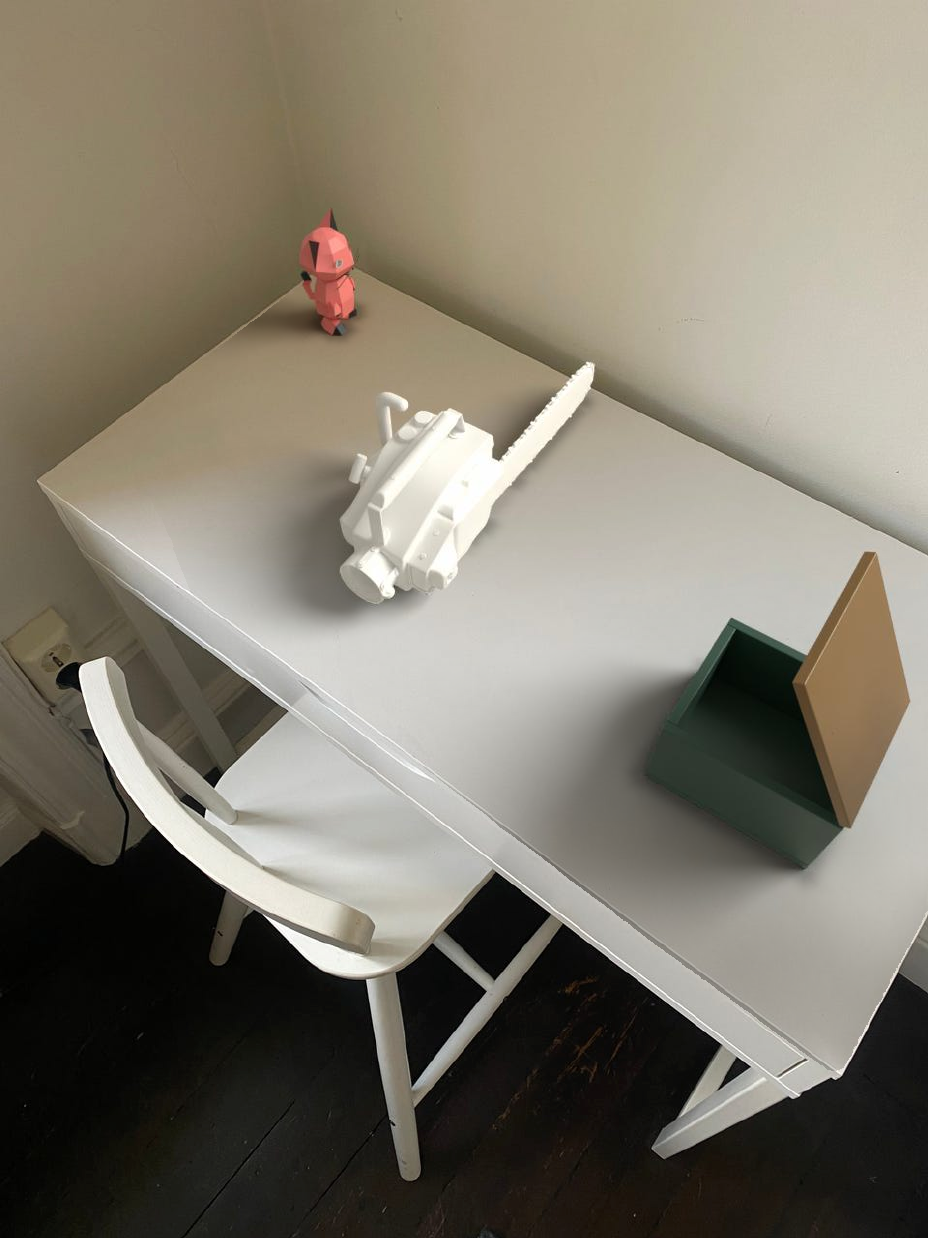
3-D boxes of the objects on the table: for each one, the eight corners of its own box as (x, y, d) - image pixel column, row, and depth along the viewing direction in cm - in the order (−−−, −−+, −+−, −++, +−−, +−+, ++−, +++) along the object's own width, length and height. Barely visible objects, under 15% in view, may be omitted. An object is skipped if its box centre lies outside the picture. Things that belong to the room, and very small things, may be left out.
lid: (791, 682, 53) (804, 684, 53) (864, 550, 58) (877, 551, 58) (839, 826, 61) (850, 829, 61) (899, 699, 67) (910, 701, 66)
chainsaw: (615, 403, 96) (632, 303, 85) (419, 638, 80) (411, 551, 70) (494, 349, 101) (496, 248, 90) (287, 561, 85) (261, 468, 74)
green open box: (643, 775, 73) (661, 728, 66) (708, 670, 78) (731, 616, 71) (805, 869, 68) (842, 830, 61) (862, 752, 74) (902, 703, 67)
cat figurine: (352, 345, 101) (338, 249, 91) (295, 333, 102) (275, 237, 92) (374, 305, 105) (363, 209, 95) (319, 294, 106) (302, 198, 96)
